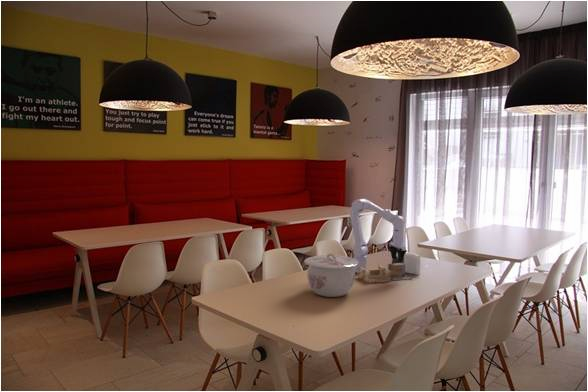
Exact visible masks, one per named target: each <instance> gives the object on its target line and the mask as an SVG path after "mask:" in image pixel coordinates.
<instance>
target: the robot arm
mask: <svg viewBox="0 0 588 392" xmlns="http://www.w3.org/2000/svg"><path fill="white" fill-rule="evenodd" d="M364 210H370V211H373V212H375V213H376V214H378V215H380V217H381V218H382V219H384V220H385V221H387V222H389V223H390V224H391V225H392V226H393V228H392V242H390V241H389V246H388V249H389V252H390V256H391V260H392V259H396V254H397V253H398V260H399V262H402V261H403V258H404V255H405V253H408V252H407V249H406V248H407V246H405V243H404V224H405V222H406V220H405V217H403V216H402V215H398V213H395V212H392V211H391V209H383V208H381V207H380V206H378V205H376V204H375V203H373V202H372V201H371V200H369V199H366V198H360V199H354V200H353V202H352V203H351V207H350V211H349V216H350V223H351V228H352V234H353V239H354V244H353V250H352V253H353V255H354V256H353V257H352V259H355V260H357V261H358V265H356V266H355V267H353V268H354V270H355V274H356V273H357V274H359V267H361V268H363V269H365V270H367V269H368V268H367V265H368V264H367V262H368V256H367V255H368V253H369V247H368V246H367V243H366V241H365V239H364V235H363V229H362V225H361V220H360V219H361V218H360V214H361V213H362V212H363V211H364Z"/></svg>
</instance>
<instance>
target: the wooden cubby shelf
mask: <svg viewBox="0 0 588 392" xmlns="http://www.w3.org/2000/svg"><path fill="white" fill-rule="evenodd" d="M358 277H359V279H361V280H363V281H365V282H367V283H368V284H375V282H376V283H386V282H387V281H388V282H391V279H390V277H391V271H390V270H388V268H386V267H384V266H382V265H378V267H377V269H369V270H365V269H363V268H361V267H359V273H358Z"/></svg>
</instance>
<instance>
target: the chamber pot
mask: <svg viewBox="0 0 588 392" xmlns="http://www.w3.org/2000/svg"><path fill="white" fill-rule="evenodd" d="M303 263H304V264H305V265H307V266H308V268H307V269H306V277H307V283H308V285H309V286H310V289H311V290H312V292H313V293H314V294H316V295H318V296H320V297H325V298H339V297H342V296H346V295H347V294H348V293H349V292H350V290H351V289H352V288H353V286H354V283H355V279H356V272H355V270H354V268H353V267H355V266H356V265H358V261H357V260H355V259H353V257H348V256H344V255H337V254H333V253H332V252H331V253H328V254H320V255H314V256H310V257H306V258H305V259H304V261H303Z"/></svg>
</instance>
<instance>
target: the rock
mask: <svg viewBox="0 0 588 392" xmlns="http://www.w3.org/2000/svg"><path fill="white" fill-rule="evenodd" d="M393 263H403V264H404V258H403V261H402V262H399V260H398V253H397V254H396V259H392V258H391V264H393Z"/></svg>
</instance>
